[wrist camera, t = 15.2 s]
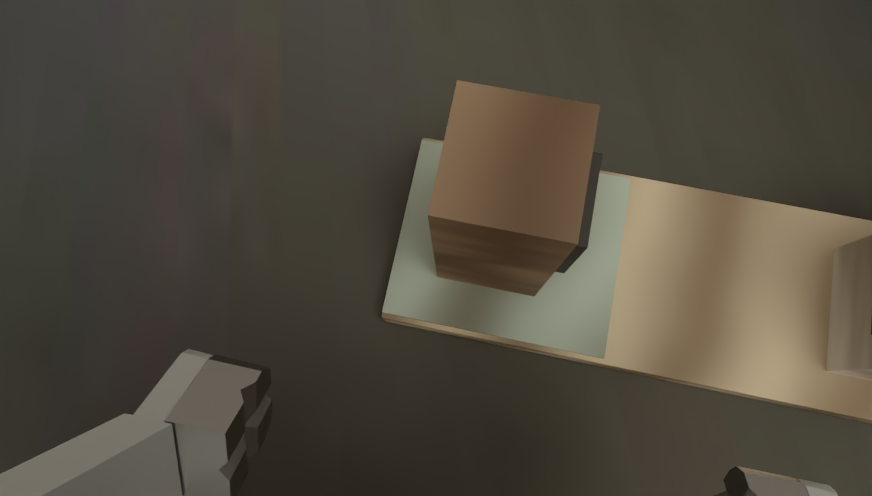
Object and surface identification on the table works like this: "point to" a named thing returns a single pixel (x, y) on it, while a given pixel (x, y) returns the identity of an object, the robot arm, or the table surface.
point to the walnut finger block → (513, 187)
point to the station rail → (674, 294)
